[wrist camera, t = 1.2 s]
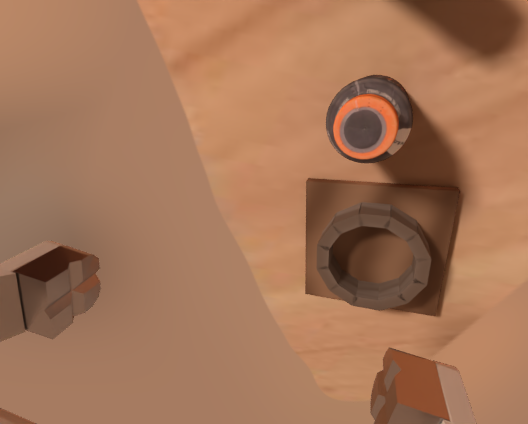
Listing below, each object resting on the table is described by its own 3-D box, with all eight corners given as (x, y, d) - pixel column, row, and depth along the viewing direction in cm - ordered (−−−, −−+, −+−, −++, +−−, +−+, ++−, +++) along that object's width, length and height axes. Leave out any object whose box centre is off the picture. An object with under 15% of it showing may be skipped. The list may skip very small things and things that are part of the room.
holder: (457, 187, 31) (465, 203, 28) (434, 310, 37) (438, 335, 33) (308, 178, 36) (299, 190, 32) (307, 288, 41) (299, 309, 38)
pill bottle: (423, 109, 30) (438, 132, 20) (369, 154, 33) (359, 193, 23) (378, 58, 30) (369, 57, 20) (327, 108, 33) (299, 128, 23)
